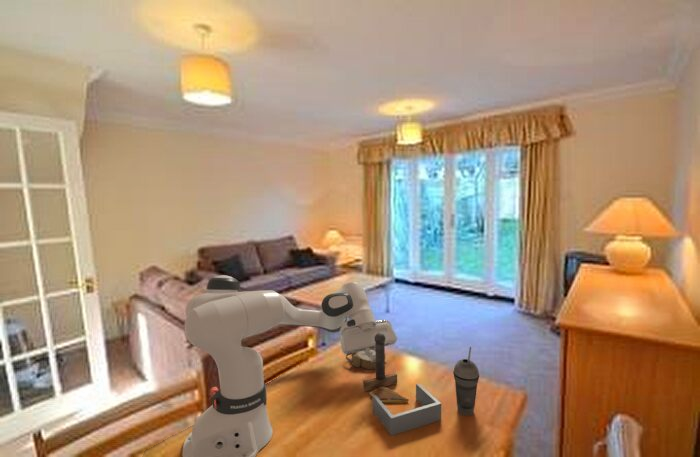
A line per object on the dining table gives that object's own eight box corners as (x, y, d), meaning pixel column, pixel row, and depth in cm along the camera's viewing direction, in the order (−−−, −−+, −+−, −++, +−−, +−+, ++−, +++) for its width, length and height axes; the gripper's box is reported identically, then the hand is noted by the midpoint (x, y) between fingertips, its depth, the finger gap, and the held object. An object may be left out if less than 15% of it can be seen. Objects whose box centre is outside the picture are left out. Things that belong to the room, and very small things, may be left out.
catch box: (391, 435, 96) (391, 418, 95) (372, 411, 106) (372, 395, 106) (441, 419, 102) (441, 403, 101) (418, 398, 112) (418, 383, 112)
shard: (409, 404, 110) (409, 398, 110) (392, 414, 105) (392, 409, 105) (383, 389, 118) (383, 384, 118) (366, 398, 113) (366, 393, 113)
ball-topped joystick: (366, 393, 115) (365, 338, 113) (361, 387, 118) (360, 334, 116) (399, 384, 119) (398, 332, 117) (393, 379, 123) (393, 328, 121)
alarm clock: (388, 361, 130) (347, 356, 130) (385, 374, 131) (345, 368, 130) (384, 348, 142) (346, 342, 141) (382, 359, 142) (345, 354, 142)
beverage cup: (460, 400, 111) (461, 338, 108) (483, 410, 105) (484, 345, 103) (448, 411, 106) (448, 346, 103) (471, 422, 100) (472, 354, 98)
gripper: (386, 322, 136) (399, 358, 128) (335, 331, 128) (346, 370, 120) (391, 314, 131) (405, 351, 123) (339, 324, 124) (350, 363, 116)
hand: (375, 360), depth 122 cm, fingers closed
